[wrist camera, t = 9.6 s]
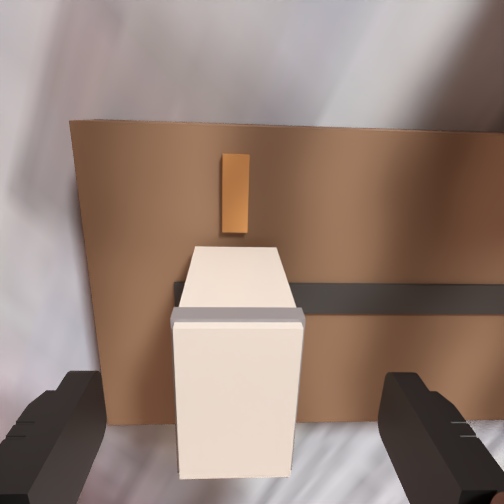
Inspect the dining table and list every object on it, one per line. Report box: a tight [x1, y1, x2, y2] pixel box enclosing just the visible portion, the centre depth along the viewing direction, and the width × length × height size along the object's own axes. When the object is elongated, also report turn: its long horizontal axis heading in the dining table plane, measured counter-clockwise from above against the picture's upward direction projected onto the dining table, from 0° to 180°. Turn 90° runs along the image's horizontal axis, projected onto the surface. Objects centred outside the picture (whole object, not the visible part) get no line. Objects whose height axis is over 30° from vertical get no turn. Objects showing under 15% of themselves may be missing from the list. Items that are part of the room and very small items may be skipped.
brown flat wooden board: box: [69, 119, 504, 425], centre depth 18 cm, size 28×14×3 cm, turn 88°
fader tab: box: [170, 246, 306, 479], centre depth 13 cm, size 3×5×6 cm, turn 178°
